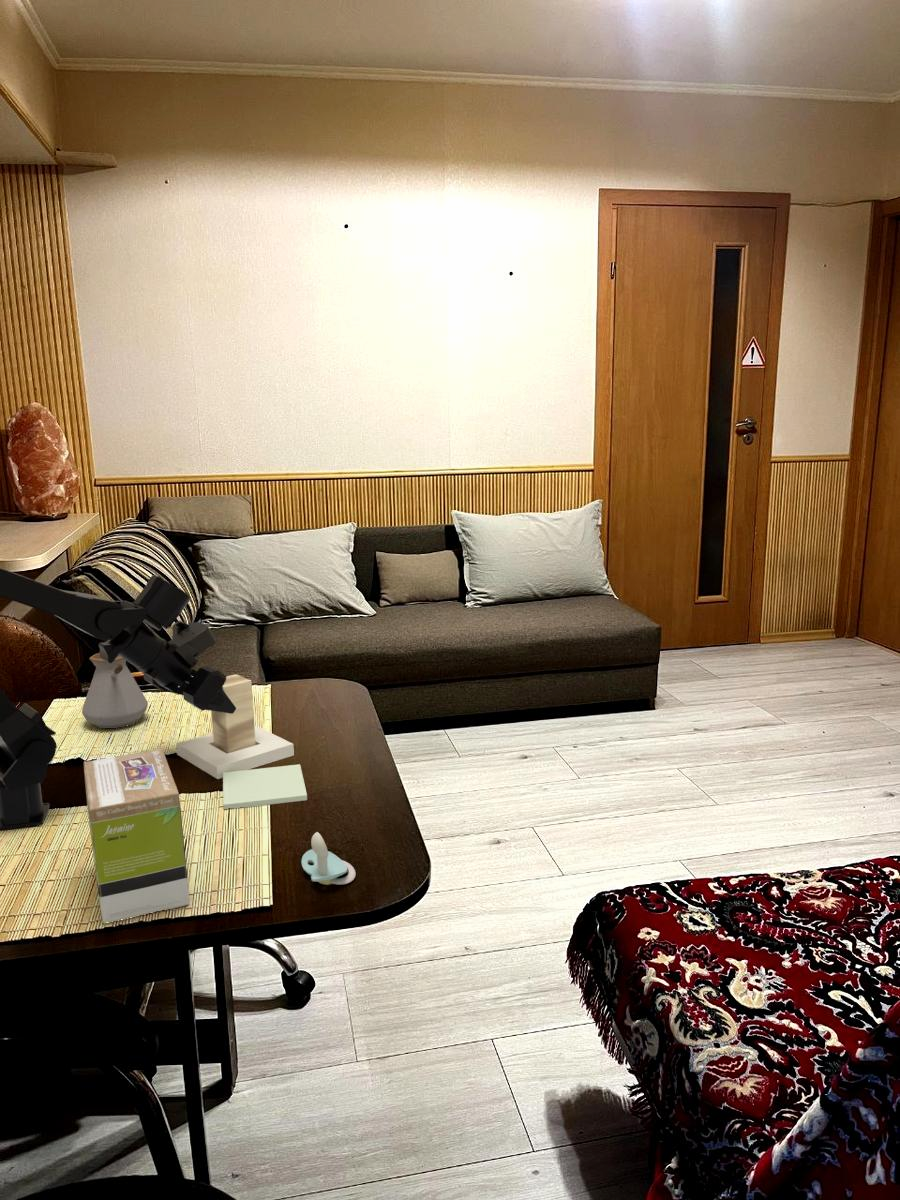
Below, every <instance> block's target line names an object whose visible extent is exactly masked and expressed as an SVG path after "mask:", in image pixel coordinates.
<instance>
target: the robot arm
mask: <svg viewBox="0 0 900 1200" xmlns="http://www.w3.org/2000/svg"><path fill="white" fill-rule="evenodd" d="M0 597H1V598H4V599H7V600H10V601H13V602H15V603H18V604H21V605H25V606H27V607H29V608H34V609H36V610H39V611H42V612H45V613H48V614H49V615H53V616H54V617H56V618H59V619H60V620H62V621H63V622H66V623H67V624H69V625H70V626H73V627H74V628H76V629H77V630H80V631H81V632H83V633H85V634H88V635H89V636H92V637H93V638H96V639H99V640H102V641H105V642H99V643H98V647H99V653H100V659H102V660H104V661H106V662H108V663H112V662H113V661H114V660H115V659H116V657H117V656H118V655H119V656H121V657H122V658H124V659H125V660H126V662H127V663H129V664H131V665H132V666H134V667H135V669H136V670H138V671H139V672H140V673H143V680H144V681H146V682H148V683H149V684H150V685H151V686H154V687H156V688H158V689H160V690H162V691H164V692H165V693H166V692H167V693H171V694H176V695H180V696H183V700H184V701H185V702H187V703H188V704H190V705H191V706H193V707H194V708H197V709H198V710H201V711H210V712H211V711H217V712H224V713H230V714H233V713H234V711H235V710H236V707H235V706H234V704H233V703H232V702H231V700H230V699H229V697H228V696H227V695H226V693H225V692H224V690H223V685H224V683H225V681H226V677H227V676H226V675H225V674H224V673H222V672H221V671H220V670H218V669H216V668H214V667H212V666H209V665H205V666H200V667H199V668H198V670H197V669H193V668H194V667H195V666H196V665H197V664H198V662H199V660H198V659H197V658H196V657H198V656H200V655H201V654H202V653H204V652H205V651H207V650H208V649H210V648H212V647H214V646H216V644H217V640H216V638H215V636H214V634H213V633H212V630H211V629H210V628H209V626H208V624H205V623H203V622H200V621H199V622H198V621H196V622H193V621H191V622H190V623H189V624H190V625H189V624H188V623H186V622H184V621H182V620H177V619H178V617H180V614H181V613H182V612H183V610H184V609H185V608H186V606H187V605H188V603H189V602H190V601H191V599H192V598H191V597H190V596H189V594H188V593H186V592H185V591H184V590H183V589H182V588H180V587H177V586H175V585H173V584H172V583H171V582H169V581H166V580H165V579H163V578H162V577H161V576H159V575H156V574H153V575H151V576H150V577H149V579H148V580H147V582H146V584H145V586H144V588H143V589H142V590H141V591H140V592H139V594H138V595H137V597H136V598H135V599H134V601H132V602H130V601H127V600H110V599H108V598H105V597H102V596H99V595H95V594H91V593H90V594H89V593H84V592H80V591H79V592H78V591H73V590H72V591H71V590H63V589H59V588H56V587H54V586H51V585H48V584H45V583H42V582H40V581H37V580H35V579H31V578H29V577H26V576H24V575H21V574H18V573H15V572H13V571H11V570H8V569H4V568H2V567H0ZM176 620H177V621H176ZM175 621H176V622H175ZM143 622H144V623H146V624H147V625H149V626H150V627H151V628H153V629H154V630H155V629H156V630H157V631H161V629H162V628H163V629H165V630H167V629H170V628H171V627H172V636H171V638H172V639H170V640H169V641H167V640H166V639H165V638H162V637H161V636H159V635H158V634H156V633H155V632H153V630H151V629H149V628H148V627H147V626H146V625H145V624H143ZM55 735H57V734H56V731H54V730H53V729H51V727H49V726H47V725H46V723H45V721H44V718H43V717H42V714H40V713H39V712H38V710H36V709H34V708H33V707H32V706H30V705H28V704H27V703H26V702H24V703H23V704H22V705H21V706H20V707H19V708H18V707H16V705H14V703H13V702H12V700H11V699H10V698H9V697H8V696H7V695H6V693H5V692H4V691H3V690H2V689H1V688H0V830H7V829H14V828H23V827H22V826H25V827H32V826H33V825H34V826H39V825H42V824H43V823H44V821H45V819H46V816H47V814H48V812H49V809H50V802H45V803H43V798H42V797H43V795H42V788H41V783H44V781H45V779H46V773H47V770H48V767H49V764H50V763H51V762H52V761H53V759H54V758H55V756H56V751H57V748H58V745H57V742H56V740H55V739H54V737H53V736H55ZM31 825H32V826H31Z"/></svg>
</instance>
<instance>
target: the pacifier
mask: <svg viewBox="0 0 900 1200" xmlns="http://www.w3.org/2000/svg"><path fill="white" fill-rule="evenodd" d="M310 840H311V841H310V842H311V843H310V845H311V848H310V849H309V850H307V851H306V852H305V853H304V854H303V855H302V857H301V861H300V862H301V866H302V868H303V871H305V873H307V875H309V876H310V878H311V881H312V882H318V883H319V884H321V885H326V886H329V885H347V884H349V883H352V881H354V879H355V878H356V874H357V873H356V870H355V868H354V866H352V864H351V863H349V862H347V861H345V860H343V859H341V858H340V857H338V856H337V855H336V854H334V853H333V852H332V851H328V847H327V845H326V843H325V840H324V838H323V837H322V835H321V834H320V833H319V832H318V831H316V832H314V834H313V835H312V837H311V839H310ZM309 863H312V864H313V865H311V864H309ZM346 873H347V875H346V876H344V877H342V878H341V877H340V876H342V875H344V874H346ZM338 877H340V878H338Z"/></svg>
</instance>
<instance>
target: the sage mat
mask: <svg viewBox="0 0 900 1200" xmlns="http://www.w3.org/2000/svg"><path fill="white" fill-rule="evenodd" d="M222 782H223V783H222V792H223V794H222V795H223V796H222V797H223V799H222V800H223V801H222V803H223V810H224V809H226V808H236V809H241V808H240V807H244V808H252V806H253V807H259V806H260V807H261V806H267V805H268V806H269V805H277V804H286V803H293V802H302V801H308V794H307V789H306V785H305V780H304V775H303V771H302V767H301V764H300V763H299V764H291V765H282V766H273V767H272V766H271V767H263V768H262V767H261V768H252V769H249V770H243V771H234V772H224V773H223V778H222Z"/></svg>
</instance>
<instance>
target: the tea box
mask: <svg viewBox="0 0 900 1200" xmlns="http://www.w3.org/2000/svg"><path fill="white" fill-rule="evenodd" d="M83 771H84V772H83V773H84V785H85V795H86V805H87V814H88V822H89V823H88V825H89V831H90V839H91V848H92V856H93V862H94V872H95V878H96V886H97V893H98V898H99V904H100V905H99V906H100V912H101V919H102V920H101V921H102V923H103V924H105V923H106V922H112V921H117V920H121V919H126V918H130V917H133V916H136V915H143V914H147V913H151V912H156V911H161V910H165V911H169V910H168V909H170V910H172V909H176V908H177V909H178V908H181V907H184V906H188V905H189V904H190V903H191V902H190V900H191V899H190V890H189V887H190V886H189V878H188V870H187V860H186V859H187V858H186V848H185V838H184V829H183V819H182V818H183V817H182V808H181V807H182V806H181V801H180V793H179V790H178V787H177V784H176V782H175V779H174V777H173V774H172V771H171V768H170V766H169V763H168V760H167V758H166V755H165V752H164V750H163V748H157V749H152V750H146V751H141V752H134V753H129V754H125V755H124V754H123V755H117V756H112V757H107V758H101V759H95V760H94V759H93V760H89V761H86V760H85V761H83ZM161 912H162V911H161Z"/></svg>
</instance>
